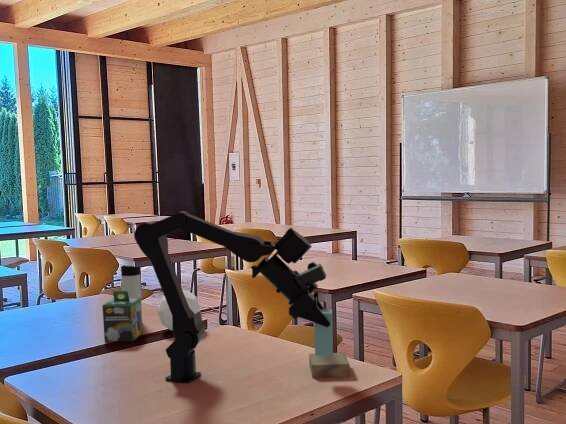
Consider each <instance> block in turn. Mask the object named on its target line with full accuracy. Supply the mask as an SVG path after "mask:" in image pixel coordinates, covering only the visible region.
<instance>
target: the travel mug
mask: <svg viewBox="0 0 566 424" xmlns="http://www.w3.org/2000/svg"><path fill="white" fill-rule="evenodd" d="M120 272H121V274H120V277H121V278H120V282H121V283H120V284H121V291H127V292H128V295H129V298H141V299H142V284H141V283H142V280H141V266H139V265H138V266H135V265H121V266H120ZM124 297H125V296H124V295H123V294H121V298H124ZM142 306H143V304H142V302H141V313H142V314H143V308H142Z"/></svg>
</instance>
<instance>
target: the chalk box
mask: <svg viewBox="0 0 566 424" xmlns="http://www.w3.org/2000/svg"><path fill="white" fill-rule="evenodd" d="M122 294H123V295H124V296H125V297H124V298H122V297H119V295H122ZM112 295H113V299H111V300H108V301H107V302H106V303H104V304H102V320H103V321H102V322H103V334H104V342H123V343H124V342H127V343H128V342H131V343H133V342H135V340H137V339H138V337H140V336H141V335H142V334H143V333H144V330H143V329H144V328H143V312H142V313H141V303H142V297H141V298H129V295H128V292H127V291H122V290H114V291H113V292H112Z"/></svg>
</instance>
